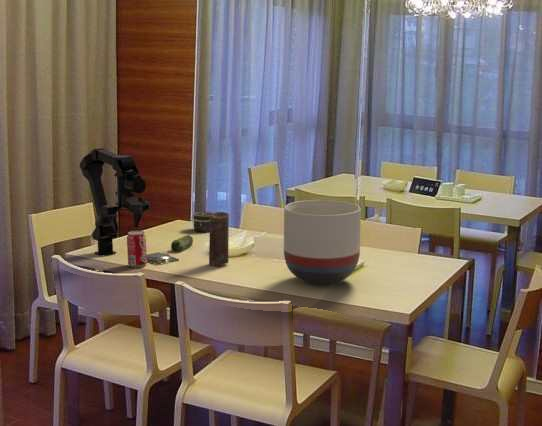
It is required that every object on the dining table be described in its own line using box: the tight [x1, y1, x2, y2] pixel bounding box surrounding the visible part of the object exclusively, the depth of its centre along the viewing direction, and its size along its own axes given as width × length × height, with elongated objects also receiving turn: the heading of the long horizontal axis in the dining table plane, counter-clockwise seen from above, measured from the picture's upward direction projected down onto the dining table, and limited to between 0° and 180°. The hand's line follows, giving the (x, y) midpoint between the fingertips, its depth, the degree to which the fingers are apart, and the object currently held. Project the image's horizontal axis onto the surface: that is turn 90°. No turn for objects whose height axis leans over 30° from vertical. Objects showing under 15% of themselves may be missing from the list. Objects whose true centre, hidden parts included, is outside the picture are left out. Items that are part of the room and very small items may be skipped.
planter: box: [283, 199, 362, 286], centre depth 290 cm, size 27×27×27 cm
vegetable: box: [170, 234, 194, 253], centre depth 338 cm, size 14×5×5 cm, turn 158°
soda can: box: [126, 230, 148, 269], centre depth 311 cm, size 7×7×13 cm
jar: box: [192, 211, 213, 234], centre depth 369 cm, size 10×10×8 cm
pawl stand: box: [147, 251, 180, 265], centre depth 322 cm, size 14×10×1 cm
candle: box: [208, 211, 230, 267], centre depth 312 cm, size 8×7×20 cm
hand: (126, 229), depth 315 cm, fingers open, 9 cm apart
